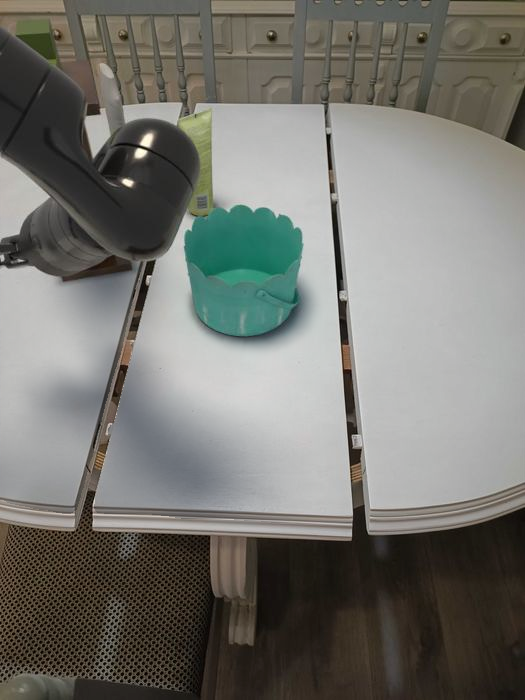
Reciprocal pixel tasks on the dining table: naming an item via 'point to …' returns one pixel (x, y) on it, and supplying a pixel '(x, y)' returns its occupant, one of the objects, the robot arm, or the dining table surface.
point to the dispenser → (111, 99)
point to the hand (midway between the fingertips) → (26, 259)
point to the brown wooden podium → (84, 79)
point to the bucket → (243, 269)
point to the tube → (201, 159)
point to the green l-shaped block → (39, 38)
